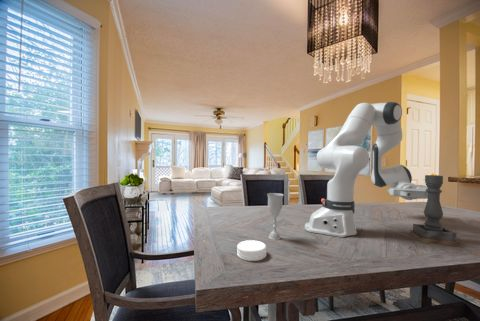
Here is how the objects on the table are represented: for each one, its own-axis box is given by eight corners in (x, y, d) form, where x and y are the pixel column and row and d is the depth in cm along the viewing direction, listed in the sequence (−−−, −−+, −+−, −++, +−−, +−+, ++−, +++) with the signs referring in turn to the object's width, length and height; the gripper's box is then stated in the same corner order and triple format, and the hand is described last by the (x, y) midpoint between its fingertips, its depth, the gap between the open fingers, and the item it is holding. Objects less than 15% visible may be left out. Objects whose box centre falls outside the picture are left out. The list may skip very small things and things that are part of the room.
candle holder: (446, 238, 90) (447, 176, 90) (429, 237, 91) (430, 176, 91) (436, 233, 96) (437, 175, 96) (419, 232, 97) (420, 175, 97)
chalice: (262, 236, 95) (263, 193, 95) (276, 233, 98) (276, 192, 98) (273, 241, 88) (273, 196, 88) (286, 239, 91) (287, 195, 91)
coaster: (240, 248, 82) (240, 238, 82) (268, 250, 80) (268, 241, 80) (233, 259, 73) (233, 249, 73) (264, 263, 70) (264, 252, 70)
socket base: (422, 242, 89) (422, 231, 89) (409, 233, 101) (410, 223, 101) (460, 246, 86) (460, 234, 86) (442, 236, 97) (442, 225, 97)
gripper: (385, 184, 121) (394, 187, 108) (430, 186, 115) (446, 189, 102) (385, 196, 121) (394, 200, 108) (430, 198, 115) (446, 203, 102)
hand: (420, 195), depth 105 cm, fingers open, 8 cm apart
